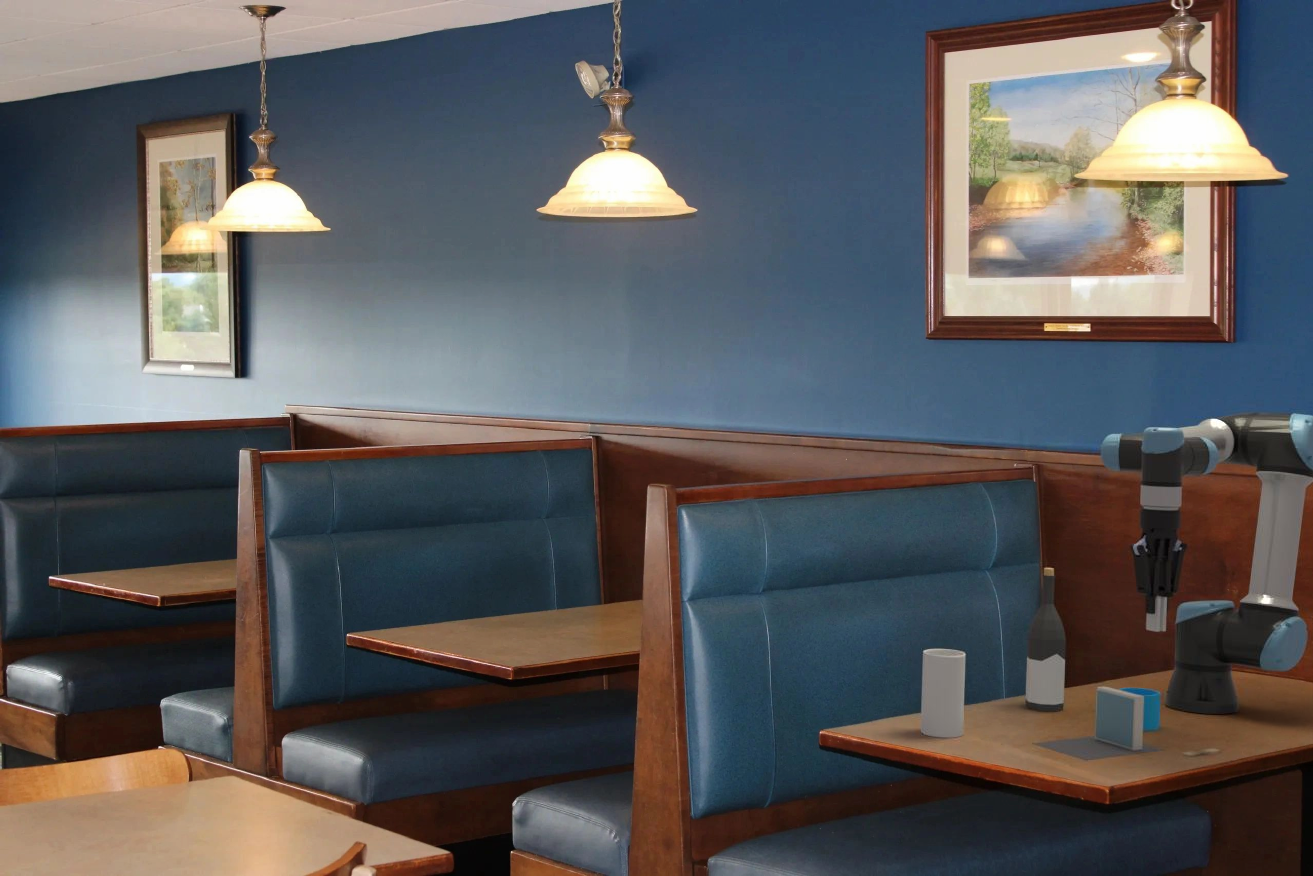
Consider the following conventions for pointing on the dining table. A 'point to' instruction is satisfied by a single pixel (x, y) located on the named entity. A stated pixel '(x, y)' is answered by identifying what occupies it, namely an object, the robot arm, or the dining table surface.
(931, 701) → the cup
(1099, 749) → the mat
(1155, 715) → the mug
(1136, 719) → the tile
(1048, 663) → the wine bottle
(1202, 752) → the turner
